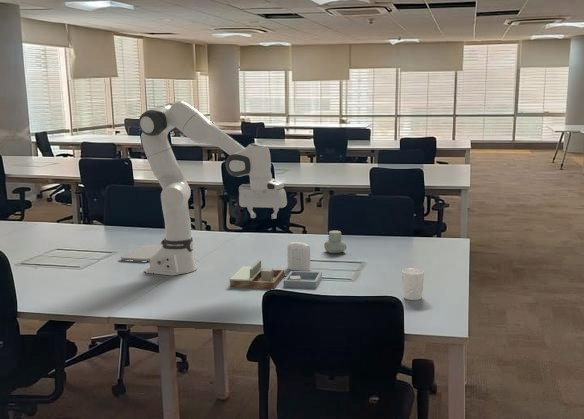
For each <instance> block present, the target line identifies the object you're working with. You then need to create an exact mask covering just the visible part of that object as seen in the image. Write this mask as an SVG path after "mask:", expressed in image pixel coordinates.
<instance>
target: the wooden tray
mask: <svg viewBox="0 0 584 419" xmlns="http://www.w3.org/2000/svg"><path fill="white" fill-rule="evenodd" d="M285 276H286V275H285V269H273V278H274V280H273V282H266V281H261V272H260V273H259V274H258V275H257V276H256V277H255V278H254V279H253V280H252V281H231V280H229V287H230V288H241V289H243V288H246V289H266V290H267V289H268V290H275V289H276V288H277V286H278V285H279V284H280V283H281V281H283V280H284V279H283V278H285Z"/></svg>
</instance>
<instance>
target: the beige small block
mask: <svg viewBox="0 0 584 419" xmlns="http://www.w3.org/2000/svg"><path fill="white" fill-rule="evenodd" d="M273 270H274V268H271V267H270V268H268V267H267V268H266V267H264V268H263V269H262V270H261V281H266V282H273V280H274V278H273Z"/></svg>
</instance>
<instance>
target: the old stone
mask: <svg viewBox="0 0 584 419" xmlns="http://www.w3.org/2000/svg"><path fill="white" fill-rule="evenodd" d="M290 280H300V281H301V278H300V276H290Z"/></svg>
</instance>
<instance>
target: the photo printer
mask: <svg viewBox="0 0 584 419" xmlns="http://www.w3.org/2000/svg"><path fill="white" fill-rule="evenodd" d="M287 269H288V270H290V271H308V272H310V271H311V247H310V245H309V244H307V243H305V242H302V241H292V242H289V243H288V244H287Z"/></svg>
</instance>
